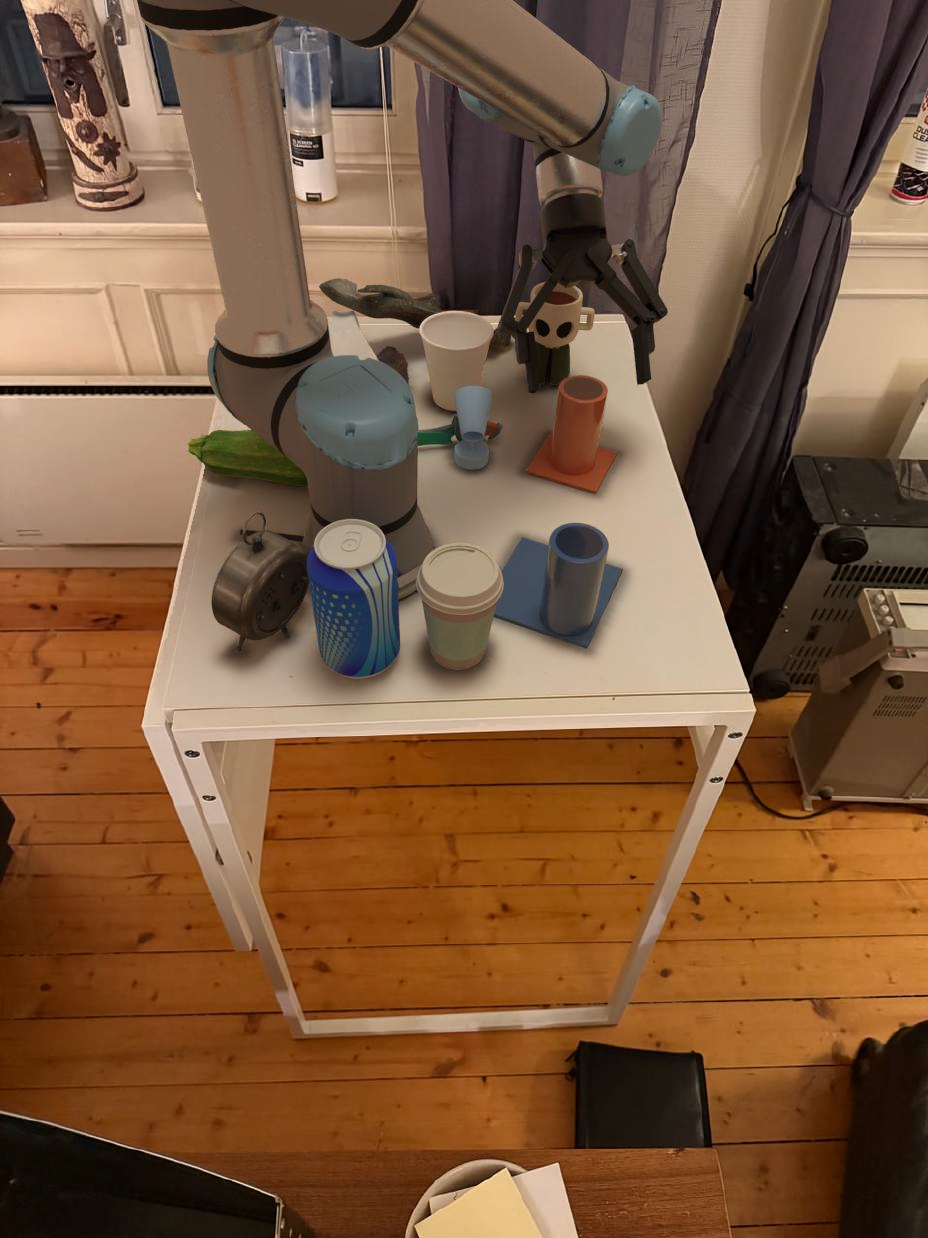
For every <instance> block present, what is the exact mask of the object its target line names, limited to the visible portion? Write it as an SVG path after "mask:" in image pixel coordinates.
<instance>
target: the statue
mask: <svg viewBox="0 0 928 1238" xmlns="http://www.w3.org/2000/svg"><path fill="white" fill-rule="evenodd" d="M318 288H319V289H320V291H321V292H322V293H323V294H324V295H325V296H326V297H327V298H328V299H330V300H331V301H332V302H334V303H336V304H338V305H340V306H343V307H345V308H346V309H349V310H351V311H354V312H355V313H359V314H360V315H363V316H366V317H367V318H372V319H376V320H378V319H379V320H380V319H381V320H382V319H383V320H384V319H392V320H398V321H401V322H405V323H406V324H408V325H410V326H411V327H413V328H415V329H418V330H419V329H420V325H421V323H422V322H423V321H424V320H425V319H426V318H428V317H429V316H431V315H434V314H437V313H441V312H445V310H442V309H440V308H438V307H437V305H438V302H439V300H440V295H437V294H434V293H429V294H428V295H425V296H421V297H416V298H413V296H412V295H410V294H409V293H407V292H406V291H404V290H403V289H400V288H398V287H395V286H391V285H387V284H366V285H365V287H363V288H359V289H358V284H357V283H355V282H352V281H351V280H348V279H347V278H339V277H337V278H331V279H329V280H325V281H324V282H322V283H321V284H319V285H318ZM361 293H365V294H366V295H363V294H361ZM513 320H515V316H514V318H513ZM493 330H494V333H493V337H492V339H491V340H490V344H489V346H493V347H507V346H508V345H509V344H510V343H511V339H512V335H511V334H508V333H500V332H499V331H498V326H497V327H496V328H495V329H493Z"/></svg>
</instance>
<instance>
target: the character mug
mask: <svg viewBox="0 0 928 1238" xmlns="http://www.w3.org/2000/svg"><path fill="white" fill-rule="evenodd" d="M545 282H546V281H544V282H540V283H538V284H537V285H534V286H533V288H532V290H531V291H530V298H529V300H530V301H529V302H526V301H520V302H519V304H518V307H517V310H516V313H515V316H514V317H515V321H518V322H519V321H520V319H521V318H522V316H523V313H524V310H525V311H526V310H527V309H528V307H529V306H530V304H531V303H532V301H533V300H534V298H535V297H536V295H537V294H538V292H539V291H540V289H541V288H542V286H543V285H544V283H545ZM583 301H584V295H583V292H582V290H581V289H580V288H578V287H577V285H576V286H574V287H571V288H564V286H562V285H560V284H559V283H558V284H557V285H556V286H555V288H554V289H553V291H552V292H551V294H550V295H549V297H548V298H547V300H546V301H545V303H544V304H543V306H542V307H541V309H540V310H539V312H538V313H537V315H536V316H535V318H534V319H533V321H532V322H531V324H530V325H529V327H528V328H527V330H528V332H534V334H535V344H536V353H537V363H538V372H539V382H540V385H545V380H550V382H549V385H550V386H557V385H559V384H560V382H561V381H562V380H564V379H565V378H567V377H570V374H571V347H570V344H571V343H572V342H574V341H575V339H576V337H577V336H578V333H579V331H591V330H592V329H593V326H594V321H595V315H596V311H595V309H594V308H592V307H586V306H585V307H584V306H583ZM581 315H586V321H585V322H580V321H581Z"/></svg>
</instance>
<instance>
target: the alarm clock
mask: <svg viewBox="0 0 928 1238" xmlns="http://www.w3.org/2000/svg"><path fill="white" fill-rule="evenodd" d="M256 516H261V518H262V520H263V523H262V529H261V530H258V531H259V532H256V533H254V534H252V535H250V536H246V530H248V526H249V523H250V522H251V520H252V519H253V518H254V517H256ZM266 528H267V517H266V515H265V513H264V512H262V511H258V510H257V511H254V512H253V513H251V514H250V515H249V516H248V517H247V518H246V521H245V522H244V524H243V527H242V530H243V533H242V535H243V536H242V535H241V536H242V540H241V541H240V542H239V543H238V544H237V545H236V546H235V547H234V548H233V549H232V550H231V552H230V553H229V555H228V556H227V557H226V559H225V560H224V562H223V563H222V565H221V567H220V568H219V570H218V573H217V575H216V578H215V580H214V583H213V587H212V593H211V603H210V604H211V605H210V606H211V610H212V615H213V617H214V619H215V620H216V622H217V623H218V624H219V625H221V626H222V627H225V628H227V629H229V630H230V631H232V632H234V633H235V634H237V635H239V638H238V644H237V646H236V647H235V651H236V652H237V653H240V652H242V651H243V646H244V644H245V642H246V640H248V641H253V642H258V641H263V640H264V641H265V640H267V639H269V638H272V637H273V636H275V635H276V634H277V633H279V632H282V634H283V636H284V638H285V639H287V640H289V639H291V633H290V632H289V629H288V627H287V626H288V623H289V622H290V621H291V620H292V619H293V617H294V616H295V615H296V614H297V612H298V611H299V609H300V607H301V605H302V604H303V602H304V600H305V597H306V595H307V593H308V588H309V587H310V585H309V578H308V571H307V558H308V555H307V553H306V551H305V550H304V549H303V548H302V545H299V544H297V543H296V542H295V541H291V540H288V539H286V538H284V537H282V536H280V535H279V534H277V533H278V532H275V531H273V530H268V529H266Z"/></svg>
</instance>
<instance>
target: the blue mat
mask: <svg viewBox="0 0 928 1238" xmlns="http://www.w3.org/2000/svg"><path fill="white" fill-rule="evenodd" d="M548 546H549V544H545V543H542V542H539V541H536V540H532V539H529V538H526V537H523V536H522V537H521V538H520V540H519V541H518V543H517V544H516V547H515V548H514V550H513V552H512V553H511V555H510V557H509V558H508V560H507V562H506V563H505V565H504V566H503V569H502V570H501V572H502V576H503V583H504V586H503V591H502V594H501V596H500V597H499V599H498V601H497V605H496V609H495V613H494V617H495V618H498V619H501V620H503V621H506V622H509V623H513V624H515V625H519V626H521V627H524V628H527V629H530V630H533V631H535V632H539V633H542V634H545V635H547V636H550V637H553V638H556V639H559V640H562V641H565V642H567V643H571V644H572V645H576V646H579V647H582V648H585V649H588V647H589V645H590V643H591V640H592V639H593V636H594V634H595V631H596V630H597V627H598V626H599V623H600V621H601V618H602V616H603V614H604V612H605V610H606V608H607V606H608V604H609V601H610V600H611V597H612V595H613V593H614V591H615V589H616V586H617V584H618V582H619V580H620V577H621V575H622V573H623V571H624V569H623V568H622V567H618V566H615V565H612V564H609V563H607V562H606V563H605V568H604V573H603V578H602V582H601V587H600V592H599V597H598V602H597V607H596V611H595V616H594V621H593V624H592V626H591V627H590V628H589V629H588V630H587V631H586V632H584V633H582V634H579V635H575V636H564V635H559V634H556V633H554V632H552V631H550V630H549V629H548V628H546V627H545V626H544V624H543V623H542V621H541V619H540V615H539V612H540V604H541V597H542V590H543V582H544V575H545V568H546V560H547V553H548Z"/></svg>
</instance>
